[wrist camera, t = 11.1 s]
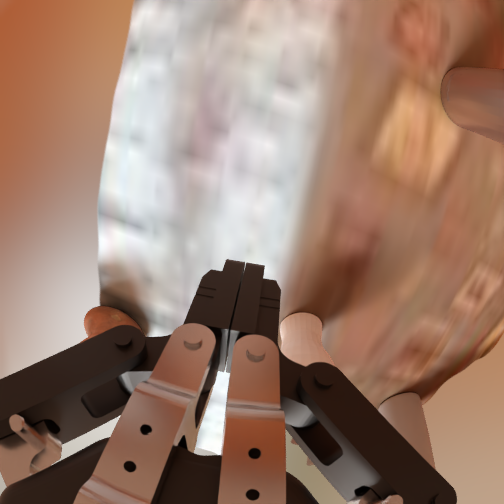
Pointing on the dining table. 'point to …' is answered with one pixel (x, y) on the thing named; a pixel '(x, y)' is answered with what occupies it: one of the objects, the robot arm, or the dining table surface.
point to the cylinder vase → (409, 422)
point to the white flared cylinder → (303, 339)
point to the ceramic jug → (105, 320)
